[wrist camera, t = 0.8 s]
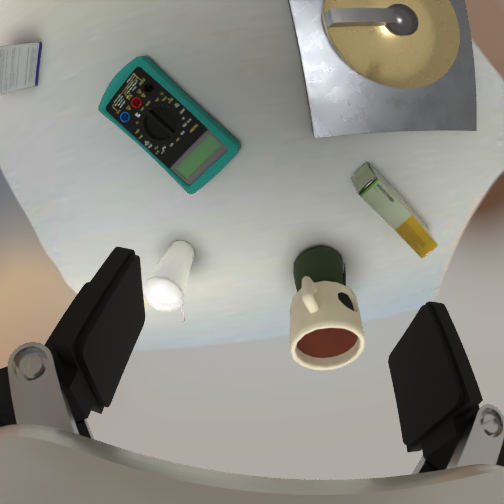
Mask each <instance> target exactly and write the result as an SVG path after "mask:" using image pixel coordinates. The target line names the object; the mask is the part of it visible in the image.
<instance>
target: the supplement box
mask: <svg viewBox="0 0 504 504" xmlns="http://www.w3.org/2000/svg"><path fill="white" fill-rule="evenodd" d="M41 46H42V43H41V42H38V43H24V44H16V45H8V46H0V95H3V94H6V93H9V92H13V91H16V90H20V89H24V88H28V87H32V86H37V85H38V73H39V62H40V54H41Z"/></svg>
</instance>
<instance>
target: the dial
mask: <svg viewBox="0 0 504 504" xmlns="http://www.w3.org/2000/svg"><path fill="white" fill-rule="evenodd" d="M322 16H323V23H324V27H325V31H326V33H327V36H328V38H329V40H330V42H331V44H332V46H333V47H334V49H335V50H336V52H337V53H338V55H339V56H340V57H341V58H342V59H343V60H344V61H345V62H346V63H347V64H348V65H349V66H350V67H351V68H352V69H354V70H355V71H356V72H358V73H359V74H361V75H362V76H364V77H366V78H368V79H370V80H372V81H374V82H377V83H380V84H383V85H387V86H390V87H395V88H404V89H411V88H419V87H424V86H426V85H429V84H432V83H433V82H435V81H437V80H439V79H440V78H441V77H443V76H444V75H445V74H446V73H447V72H448V70H449V69H450V68H451V66H452V65H453V63H454V61H455V59H456V56H457V53H458V49H459V44H460V31H459V24H458V20H457V17H456V14H455V11H454V9H453V7H452V5H451V3H450V1H449V0H323V6H322Z"/></svg>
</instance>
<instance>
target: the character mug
mask: <svg viewBox="0 0 504 504" xmlns="http://www.w3.org/2000/svg"><path fill="white" fill-rule="evenodd" d="M294 279H295V284H296V289H297V293H296V294H295V295H294V296H293V300H292V303H291V307H290V352H291V355H292V358H293V360H294V361H296V362H297V363H298V364H300V365H301V366H303V367H306V368H309V369H312V370H331V369H338V368H341V367H343V366H345V365H348V364H350V363H351V362H353V361H354V360H355V359H357V358H358V357H359V356H360V354H361V353H362V352H363V350H364V348H365V337H364V333H363V327H362V322H361V316H360V311H359V307H358V303H357V299H356V296H355V294H354V293H353V291H352V290H351V289H350V288H348V287H347V286H346V272H345V264H344V271H343V265H342V257H341V255H340V254H339V253H338V252H336V251H335V250H333V249H331V248H326V247H318V248H314V249H311V250H308V251H307V252H305V253H304V254H302V255H300V256H299V257H298V259H297V260H296V262H295V263H294Z"/></svg>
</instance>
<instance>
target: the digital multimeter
mask: <svg viewBox="0 0 504 504" xmlns="http://www.w3.org/2000/svg"><path fill="white" fill-rule="evenodd" d="M144 70H145V71H146V72H145V71H144ZM153 78H154V79H155V80H154V79H153ZM125 80H126V81H125ZM121 85H122V86H121ZM162 86H163V87H164V88H165V89H164V88H163V87H162ZM118 89H119V90H118ZM112 97H113V98H112ZM174 97H175V98H176V99H175V98H174ZM109 101H110V102H109ZM155 105H156V106H155ZM169 107H170V108H169ZM188 110H189V111H190V112H189V111H188ZM99 111H100V112H101V113H102V114H103V115H105V116H106V117H107V118H108V119H110V120H111V121H112V122H113V123H114V124H116V125H117V126H118V127H119V128H120V129H121V130H123V131H124V132H125V133H126V134H127V135H128V136H130V137H131V138H132V139H133V140H134V141H135V142H136V143H138V144H139V145H140V146H141V147H142V148H143V149H144V150H145V151H146V152H147V153H148V154H149V155H150V156H151V157H152V158H153V159H155V160H156V161H157V162H158V163H159V164H160V165H161V166H162V167H163V168H164V169H165V170H166V171H167V172H168V173H169V174H170V175H171V176H172V177H173V178H174V179H175V180H176V181H177V182H178V183H179V184H180V185H181V186H182V187H183V189H184V190H185V191H186V192H187V193H189V194H193V193H195V192H196V191H197V190H199V189H200V188H201V187H203V186H204V185H205V184H206V183H207V182H209V181H210V180H211V179H212V178H213V177H214V176H215V175H216V174H218V173H219V172H220V171H221V170H222V169H223V168H224V167H225V166H226V165H227V164H228V163H229V162H230V160H231V159H232V158H233V157H234V156H235V155H236V154H237V153H238V151H239V149H240V147H241V144H240V142H239V141H238V140H237V139H235V138H234V137H233V136H232V135H231V134H230V133H229V132H228V131H227V130H225V129H224V128H223V127H222V126H221V125H220V124H219V123H218V122H216V121H215V120H214V119H213V118H212V117H211V116H210V115H208V114H207V113H206V112H205V111H204V110H203V109H202V108H201V107H200V106H199V105H198V104H197V103H195V102H194V101H193V100H192V99H191V98H190V97H189V96H188V95H187V94H186V93H185V92H184V91H183V90H181V89H180V88H179V87H178V86H177V85H176V84H175V83H174V82H173V81H172V80H171V79H170V78H169V77H168V76H167V75H166V74H165V73H164V72H163V71H162V70H161V69H160V68H159V67H158V66H157V65H156V64H155V63H154V62H153V61H152V60H151V59H150V58H149V57H147V56H141V57H136V58H135V59H134V60H132V61H131V62H130V63H129V64H127V65H126V66H125V67H124V68H123V69H122V70H121V71H120V72H119V73H118V74H117V75H116V76H115V77H114V78H113V80H112V81H111V82H110V84H109V86H108V87H107V89H106V91H105V93H104V95H103V98H102V100H101V102H100V105H99ZM206 127H207V128H208V129H207V128H206ZM226 151H227V152H226Z"/></svg>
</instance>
